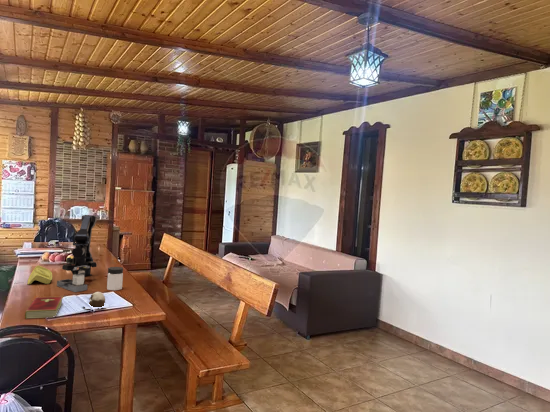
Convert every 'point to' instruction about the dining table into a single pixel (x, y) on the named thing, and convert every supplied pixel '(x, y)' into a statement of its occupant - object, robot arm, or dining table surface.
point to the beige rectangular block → (81, 272)
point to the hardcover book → (43, 307)
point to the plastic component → (40, 275)
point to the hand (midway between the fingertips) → (79, 279)
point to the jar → (115, 278)
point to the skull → (97, 299)
